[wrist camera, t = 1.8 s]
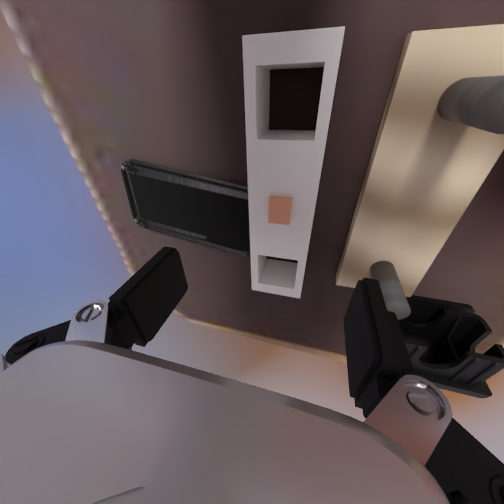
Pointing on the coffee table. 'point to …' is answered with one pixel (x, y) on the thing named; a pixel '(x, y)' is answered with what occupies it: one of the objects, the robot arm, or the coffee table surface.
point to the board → (427, 157)
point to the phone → (188, 206)
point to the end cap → (450, 346)
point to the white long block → (284, 155)
